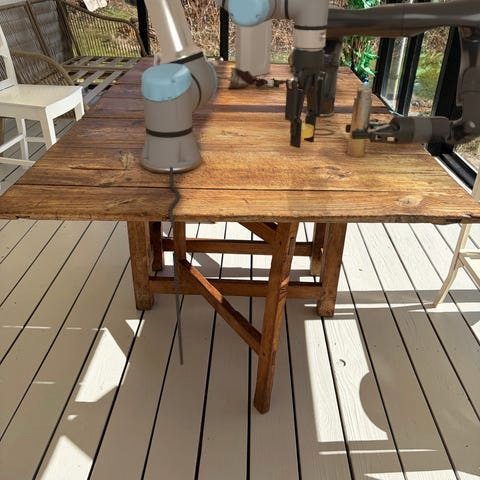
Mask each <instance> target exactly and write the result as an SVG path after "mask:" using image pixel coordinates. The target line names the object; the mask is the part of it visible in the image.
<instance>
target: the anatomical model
mask: <svg viewBox="0 0 480 480" xmlns="http://www.w3.org/2000/svg"><path fill="white" fill-rule="evenodd" d="M287 63H288V64H289V65H288V66H289V69H291V72H294V66H293V65H292V52H291V53H290V54H289V56H288V58H287Z"/></svg>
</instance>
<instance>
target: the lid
mask: <svg viewBox="0 0 480 480" xmlns="http://www.w3.org/2000/svg"><path fill="white" fill-rule="evenodd" d="M313 130H314V126H313V125H311V124H306V123H305V122H302V129H301V139H304V138H310V137H312V136H313Z"/></svg>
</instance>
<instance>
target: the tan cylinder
mask: <svg viewBox="0 0 480 480" xmlns="http://www.w3.org/2000/svg"><path fill="white" fill-rule="evenodd" d="M372 93H373V89H372V88H368V87H360V88H357V92H356V95H355V96H354V98H353V106H352V114H351V120H350V124H351V127H350V133H349V135H348V141H347V142H348V143H347V151H346V154H347V155H348V156H351V157H354V158H359V157H363V156H365V152H366V151H365V150H366V146H367V145H366V144H367V140H366V138H365V139H352V138H351V134H352V131H353V130H366V132H367V130H368V126H369V120H371V112H372V105H373V101H374V99H373V97H372Z"/></svg>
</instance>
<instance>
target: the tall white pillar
mask: <svg viewBox="0 0 480 480" xmlns="http://www.w3.org/2000/svg"><path fill="white" fill-rule="evenodd" d="M272 31H273V19H270V20H268V21H265V22H262V23H261V24H259V25H258V26H254V27H241V26H239V25H237V24H236V23H235V59H234V60H235V62H234V63H235V65H234V66H235V67H234V68H237V69H240V70H242V71H244V72H245V71H249V72H250V73H251V75H252V76H256V77H257V76H259V75H260V76H261V75H266V74H270V73H271V56H272V55H271V54H272V33H273V32H272Z"/></svg>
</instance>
